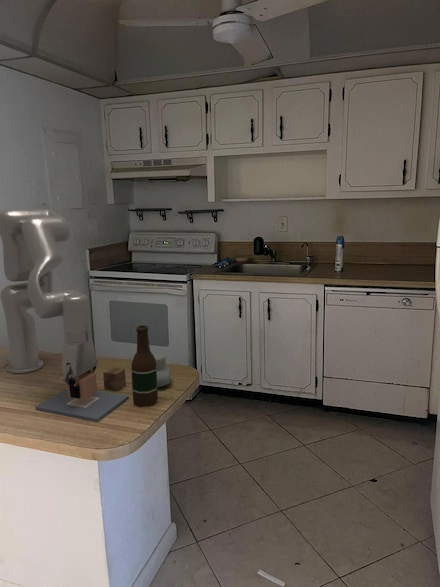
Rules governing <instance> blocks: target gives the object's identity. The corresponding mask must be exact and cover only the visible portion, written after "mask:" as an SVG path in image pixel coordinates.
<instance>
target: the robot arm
mask: <svg viewBox="0 0 440 587" xmlns="http://www.w3.org/2000/svg"><path fill="white" fill-rule="evenodd" d="M70 228H71V227H70V224H69V223H68V221H67V220H66V219H65V217H64V216H62V215H61V214H59V213H57V212H55V211H53V210H52V209H49V208H11V209H3V210H1V211H0V238H1V243H2V254H3V257H2V258H3V273H4V276H5V278H6V280H8V281H9V282H12V283H13V282H17V283H14V284H9V285H7V286H5V287H3V288H2V289H1V291H0V302H1V305H2V308H3V312H4V317H5V323H6V331H7V341H8V349H9V350H8V351H9V353H7V354H6V356H5V357H4V358H3V359H4V361H6V362H8V364H7V366H6V371H7V372H8V373H11V374H26V373H32V372H35V371H37V370H40V369H41V368H43V367H44V361H43V360H42V359H39V352H38V350H39V349H38V342H37V341H38V340H37V330H36V321H35V318H34V317H33V316H32V315H31V314H30V313H29V312H28V311H27V310H30V309H33V310H34V313H35V315H36V316H38V318H40V319H42V320H43V319H44V320H47V319H51V318H58V317H62V321H63V322H62V323H63V332H64V333H63V335H64V343H63V346H62V356H61V357H62V358H61V360H62V363H61V364H62V365H61V366H62V377H61V380H62V381H63V382H64V383H66V385H67V384H68V385H69V387H70V397H72V398H77V399H79V398H80V388H79V385H78V380H79V376H80V375H82V374H83V373H85V372H88V373H95V371H96V369H97V365H98V363H99V360H98V359H97V358H96V351H95V346H94V344H95V343H94V342H93V337H92V325H91V323H92V322H91V312H90V310H91V309H90V299H89V297H88V295H87V294H84V293H80V291H78V290H77V289H65V290H58V291H53V270H54V269H56V268H58V267H59V265H61V263H62V261H63V256H62V254H61V252H60V249H59V246H58V244H57V243H63V242H67V241H68V240H69V239H70V236H71V229H70ZM25 281H27V282H25ZM18 282H23V283H18ZM73 377H75V380H74V381H73V380H72V378H73Z"/></svg>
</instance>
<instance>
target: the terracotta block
mask: <svg viewBox="0 0 440 587" xmlns="http://www.w3.org/2000/svg"><path fill="white" fill-rule="evenodd" d="M72 380H73V381H74V380H75V377H73V378H72ZM97 383H98V382H97V374H96V373H95V372H94V373H88V372H85V373H83V374H82V375H80V376H79V380H78V385H79V388H80V398H79V399H81V400H86V399H87V398H89V397H90V396H92V395H93V394H95V393H97V391H98V384H97ZM66 389H68V397H70V387H69V385H68V384H67V383H66ZM70 398H72V397H70ZM76 399H77V398H76Z"/></svg>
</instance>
